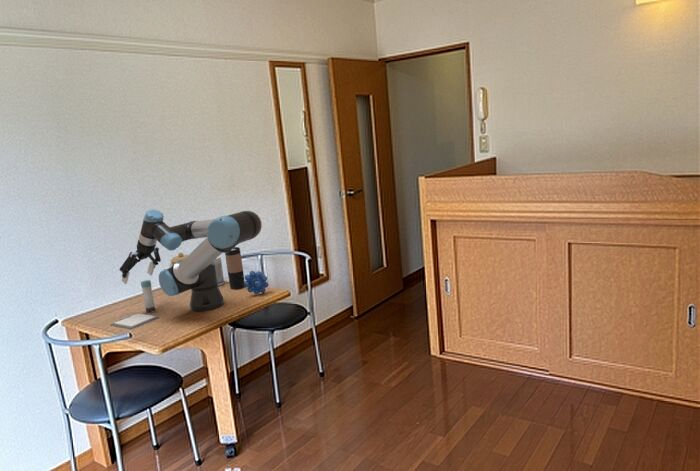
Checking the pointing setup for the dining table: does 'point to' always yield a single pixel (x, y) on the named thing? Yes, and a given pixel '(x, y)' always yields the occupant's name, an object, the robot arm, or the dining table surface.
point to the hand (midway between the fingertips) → (137, 277)
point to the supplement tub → (219, 271)
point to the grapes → (256, 282)
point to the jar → (177, 258)
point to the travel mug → (235, 268)
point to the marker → (148, 296)
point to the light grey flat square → (134, 320)
